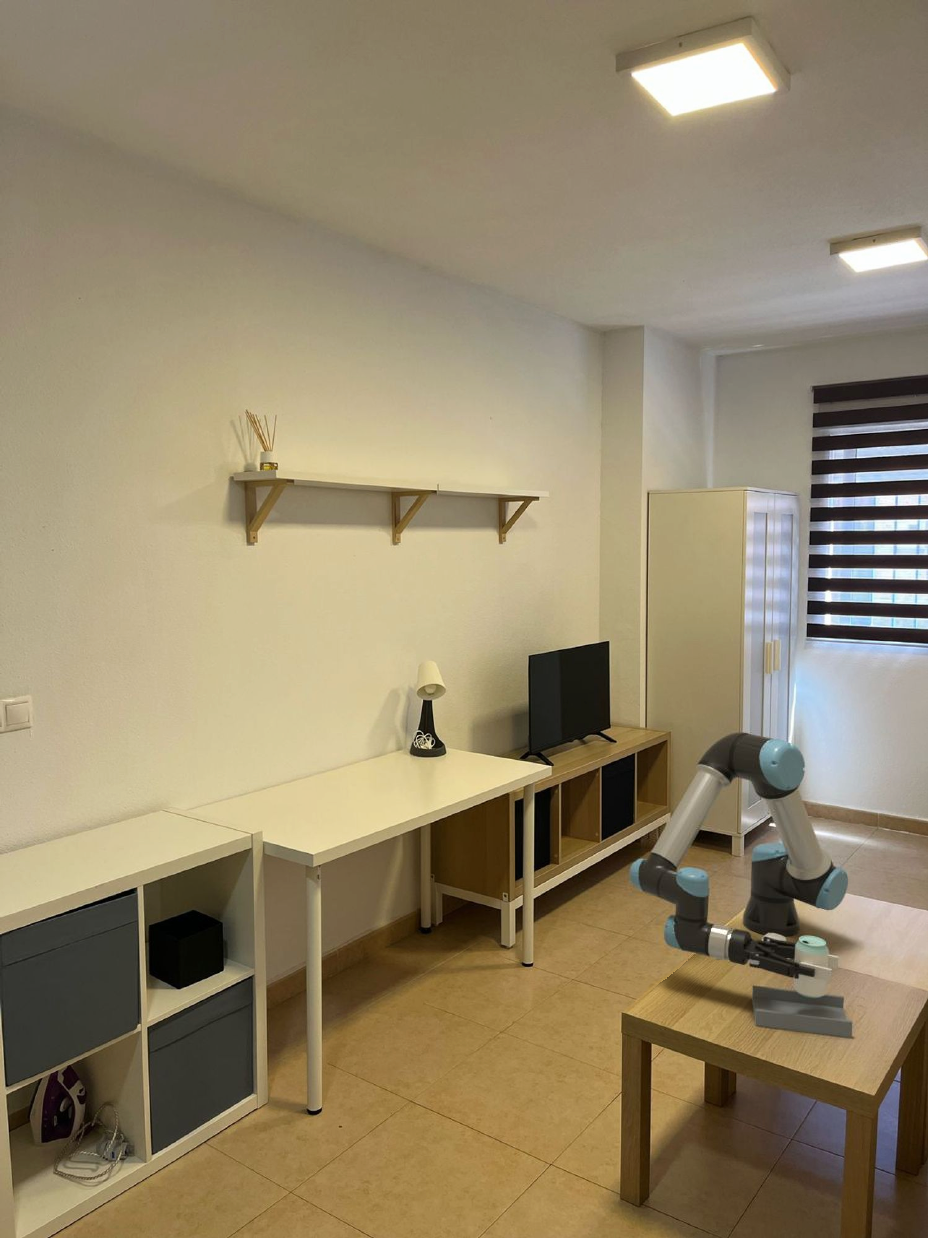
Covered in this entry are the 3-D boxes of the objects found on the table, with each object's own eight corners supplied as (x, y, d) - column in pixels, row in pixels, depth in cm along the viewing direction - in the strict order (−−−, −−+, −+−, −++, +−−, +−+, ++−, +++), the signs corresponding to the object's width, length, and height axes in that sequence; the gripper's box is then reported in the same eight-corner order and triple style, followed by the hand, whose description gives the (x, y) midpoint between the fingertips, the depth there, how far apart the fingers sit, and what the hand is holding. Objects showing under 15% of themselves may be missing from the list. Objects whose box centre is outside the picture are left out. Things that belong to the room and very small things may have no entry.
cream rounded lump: (793, 971, 240) (794, 941, 239) (762, 969, 240) (763, 939, 240) (786, 957, 247) (788, 928, 247) (756, 955, 248) (757, 926, 248)
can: (818, 1003, 209) (821, 949, 208) (787, 992, 214) (790, 940, 213) (831, 992, 214) (834, 941, 214) (801, 982, 219) (804, 931, 218)
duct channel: (752, 999, 224) (752, 985, 224) (842, 1010, 219) (843, 996, 219) (755, 1026, 212) (756, 1010, 211) (851, 1038, 207) (852, 1022, 207)
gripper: (741, 946, 232) (841, 969, 220) (718, 976, 215) (824, 1003, 203) (743, 916, 231) (843, 937, 219) (719, 943, 214) (826, 969, 202)
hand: (834, 969), depth 211 cm, fingers closed on can, 7 cm apart
